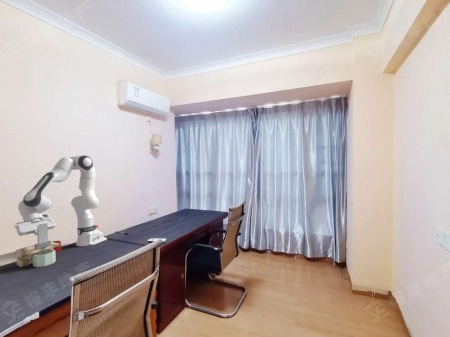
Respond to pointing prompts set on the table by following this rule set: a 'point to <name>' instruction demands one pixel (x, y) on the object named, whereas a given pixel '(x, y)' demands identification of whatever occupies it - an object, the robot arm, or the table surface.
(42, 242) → the grey upright panel
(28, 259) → the beige slab
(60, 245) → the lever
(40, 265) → the cup
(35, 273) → the table surface
